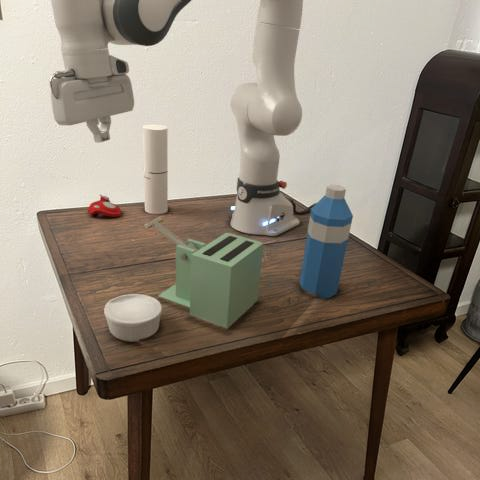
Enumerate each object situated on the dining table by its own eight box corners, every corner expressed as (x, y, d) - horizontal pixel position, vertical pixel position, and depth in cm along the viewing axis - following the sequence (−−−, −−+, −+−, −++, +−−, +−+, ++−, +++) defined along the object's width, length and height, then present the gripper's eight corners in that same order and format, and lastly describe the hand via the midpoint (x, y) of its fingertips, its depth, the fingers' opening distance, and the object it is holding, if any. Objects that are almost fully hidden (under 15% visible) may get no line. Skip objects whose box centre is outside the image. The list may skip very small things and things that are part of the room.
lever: (142, 229, 105) (146, 220, 103) (157, 221, 109) (161, 213, 108) (187, 265, 104) (191, 256, 102) (200, 256, 108) (204, 248, 106)
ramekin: (143, 309, 106) (142, 288, 103) (173, 333, 99) (173, 311, 96) (95, 325, 99) (93, 303, 97) (123, 352, 93) (122, 329, 90)
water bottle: (312, 301, 115) (331, 196, 101) (291, 283, 121) (306, 182, 108) (344, 294, 118) (367, 192, 105) (322, 277, 125) (340, 179, 112)
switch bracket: (158, 300, 110) (157, 245, 103) (180, 284, 117) (181, 231, 109) (199, 315, 106) (202, 259, 99) (221, 298, 113) (224, 244, 105)
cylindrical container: (163, 215, 153) (162, 131, 139) (141, 212, 154) (138, 127, 140) (170, 207, 159) (170, 126, 145) (149, 204, 160) (147, 123, 146)
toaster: (188, 319, 104) (190, 253, 96) (222, 292, 115) (226, 231, 107) (226, 333, 101) (231, 266, 93) (257, 304, 112) (264, 242, 104)
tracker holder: (128, 211, 150) (99, 210, 142) (124, 224, 152) (95, 223, 145) (108, 191, 155) (79, 189, 148) (104, 204, 158) (76, 202, 150)
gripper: (60, 71, 88) (78, 152, 94) (133, 62, 103) (144, 132, 110) (35, 72, 90) (54, 151, 97) (110, 63, 106) (122, 132, 112)
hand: (102, 141), depth 104 cm, fingers closed
